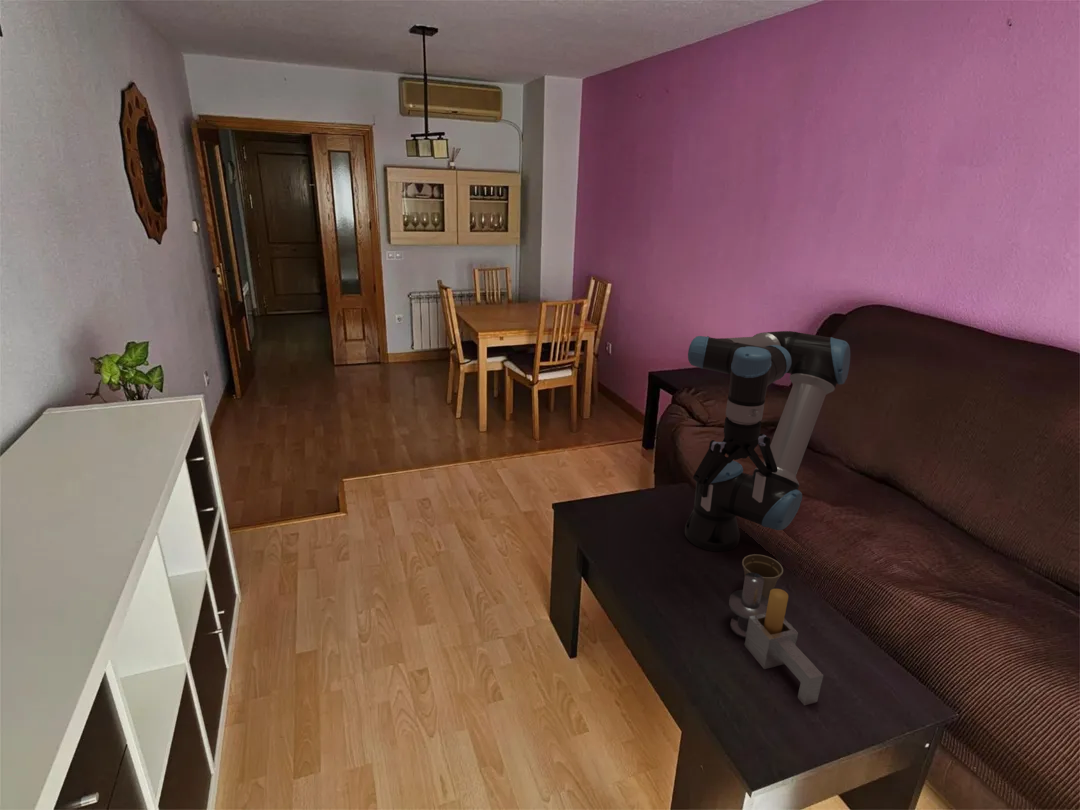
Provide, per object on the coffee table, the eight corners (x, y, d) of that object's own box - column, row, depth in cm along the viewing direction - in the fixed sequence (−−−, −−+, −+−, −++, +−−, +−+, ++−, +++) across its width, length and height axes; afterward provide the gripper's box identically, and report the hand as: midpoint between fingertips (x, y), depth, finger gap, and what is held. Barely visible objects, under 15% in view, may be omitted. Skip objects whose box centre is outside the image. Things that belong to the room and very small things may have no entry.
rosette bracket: (829, 698, 117) (843, 643, 111) (791, 709, 114) (803, 653, 109) (751, 611, 140) (759, 562, 135) (718, 618, 138) (725, 569, 132)
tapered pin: (756, 644, 127) (766, 592, 122) (767, 638, 129) (777, 586, 124) (770, 655, 124) (780, 602, 119) (781, 648, 126) (792, 596, 121)
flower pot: (744, 577, 152) (749, 549, 148) (782, 591, 147) (787, 562, 143) (732, 597, 144) (737, 568, 141) (771, 612, 139) (777, 583, 136)
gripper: (701, 432, 120) (691, 520, 128) (803, 419, 127) (788, 504, 134) (683, 418, 127) (674, 503, 135) (781, 406, 133) (767, 488, 141)
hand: (731, 503), depth 135 cm, fingers open, 13 cm apart
